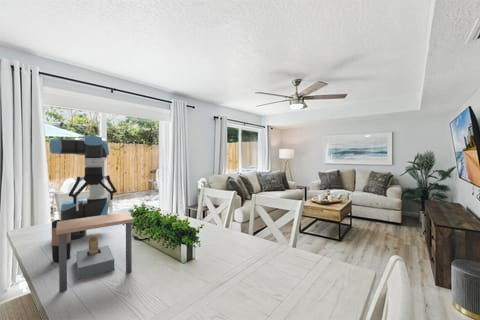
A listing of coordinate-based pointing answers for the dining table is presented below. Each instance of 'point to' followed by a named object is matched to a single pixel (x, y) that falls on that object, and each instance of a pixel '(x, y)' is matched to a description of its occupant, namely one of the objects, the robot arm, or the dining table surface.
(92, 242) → the oak peg
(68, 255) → the travel mug
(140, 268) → the dining table surface
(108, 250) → the socket board
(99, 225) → the wooden side table
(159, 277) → the dining table surface
